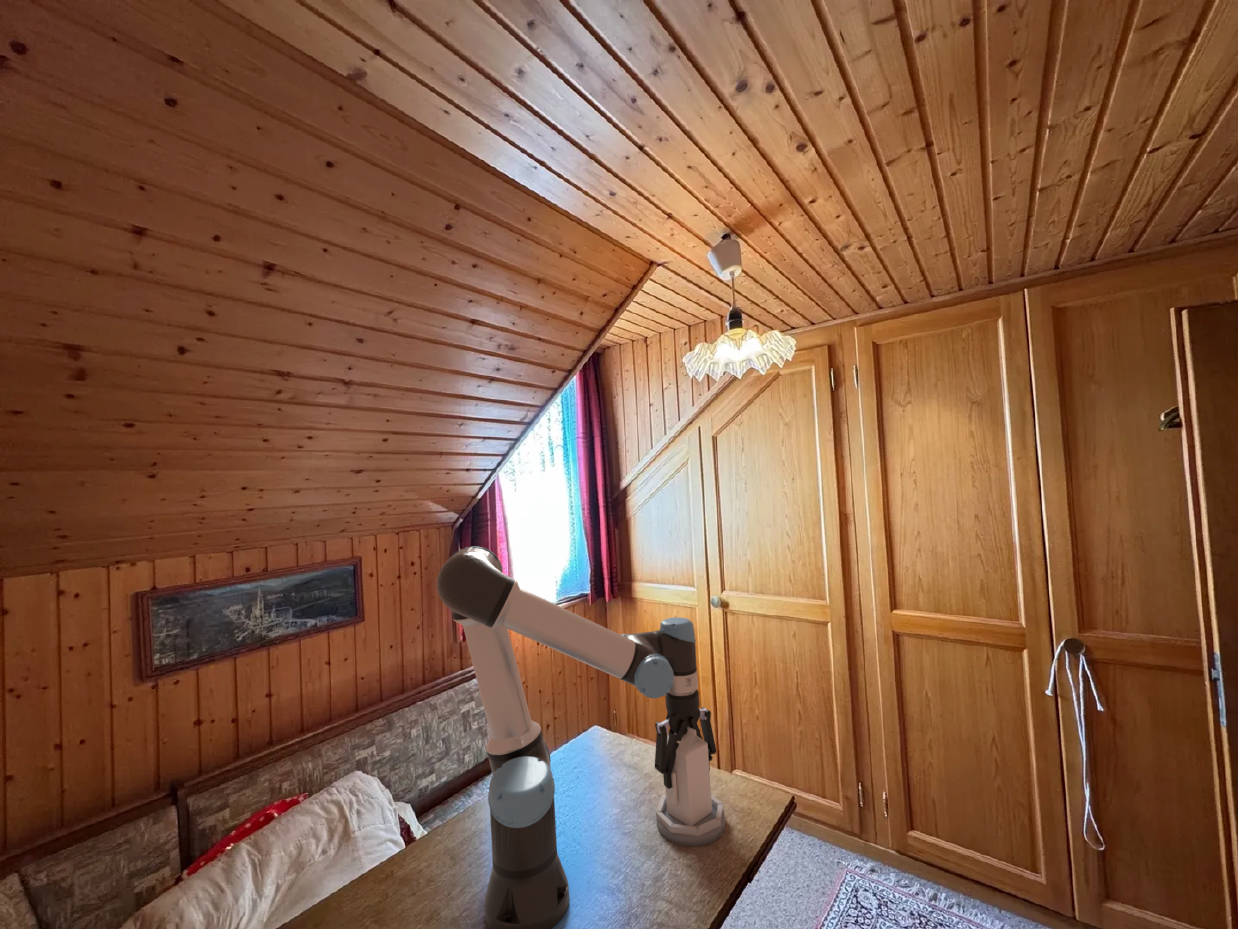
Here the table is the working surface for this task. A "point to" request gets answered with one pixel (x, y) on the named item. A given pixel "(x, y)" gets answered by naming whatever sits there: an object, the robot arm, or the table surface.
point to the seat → (695, 834)
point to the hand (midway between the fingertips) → (688, 794)
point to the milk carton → (691, 780)
